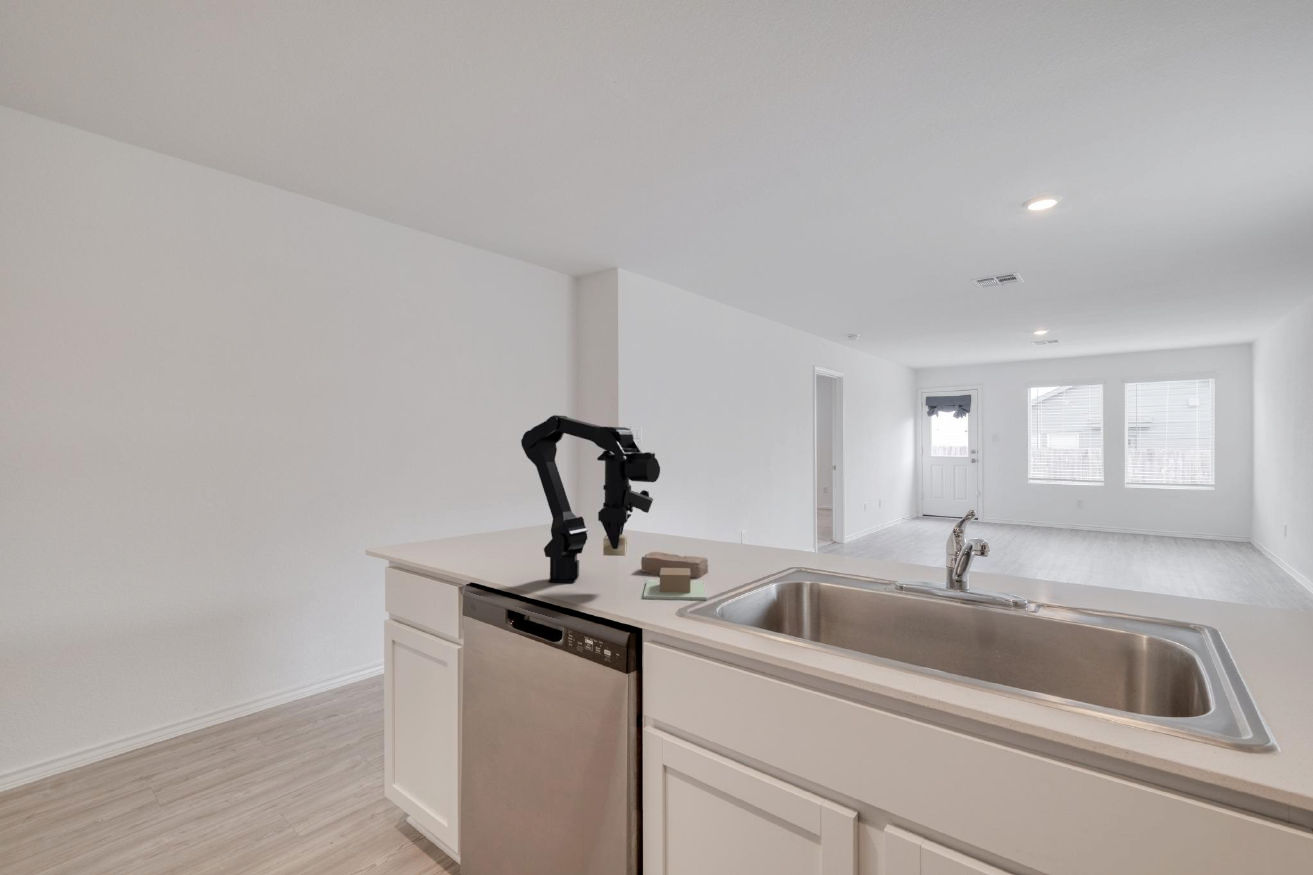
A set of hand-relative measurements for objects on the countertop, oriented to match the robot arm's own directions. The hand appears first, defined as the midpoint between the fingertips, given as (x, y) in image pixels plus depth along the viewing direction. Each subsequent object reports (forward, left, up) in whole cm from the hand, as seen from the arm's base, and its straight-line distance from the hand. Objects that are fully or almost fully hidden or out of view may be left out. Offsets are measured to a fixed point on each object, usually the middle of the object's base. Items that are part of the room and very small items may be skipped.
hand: (616, 546), depth 136 cm
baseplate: (+14, 0, -10) cm, 17 cm away
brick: (+14, +19, -11) cm, 26 cm away
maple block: (0, 0, -2) cm, 2 cm away
